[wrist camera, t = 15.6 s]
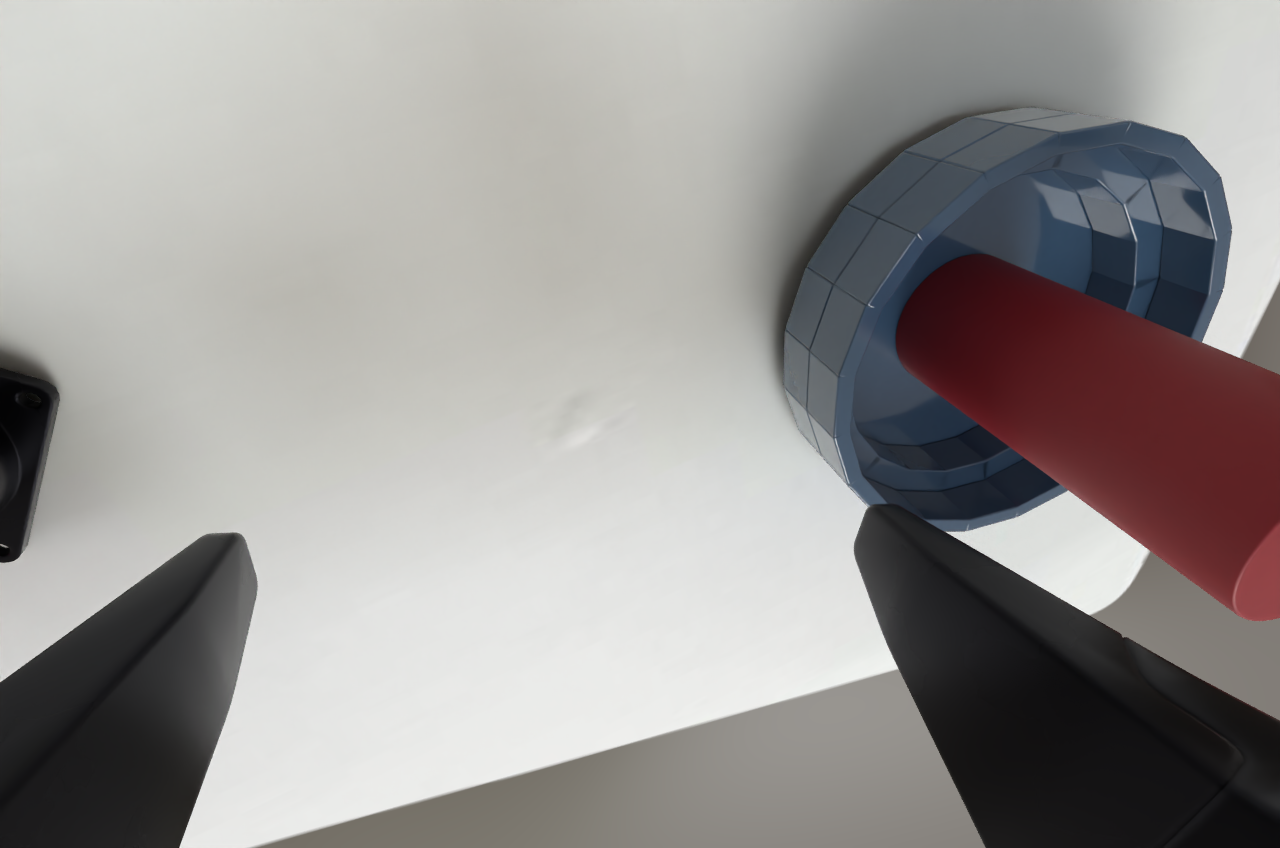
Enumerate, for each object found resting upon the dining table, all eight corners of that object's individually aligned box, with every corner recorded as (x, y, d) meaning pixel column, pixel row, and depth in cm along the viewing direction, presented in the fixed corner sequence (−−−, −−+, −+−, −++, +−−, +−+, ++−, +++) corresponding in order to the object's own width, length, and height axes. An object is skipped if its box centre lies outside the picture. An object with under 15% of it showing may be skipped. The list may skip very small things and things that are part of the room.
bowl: (941, 501, 31) (1011, 566, 27) (702, 401, 24) (750, 470, 20) (1173, 227, 26) (1297, 261, 22) (951, 11, 19) (1073, 8, 16)
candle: (917, 402, 26) (1279, 688, 15) (877, 309, 23) (1287, 575, 12) (1026, 329, 25) (1487, 567, 14) (999, 224, 23) (1546, 418, 11)
